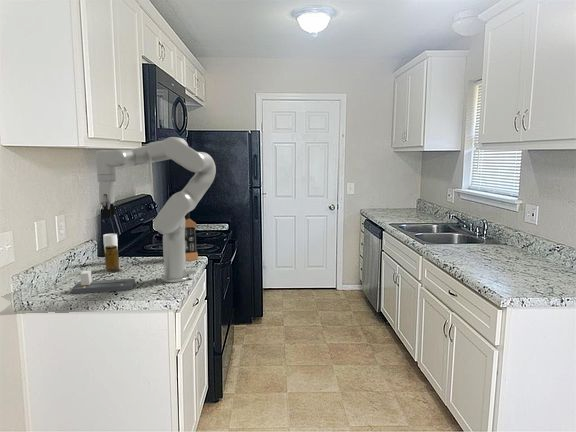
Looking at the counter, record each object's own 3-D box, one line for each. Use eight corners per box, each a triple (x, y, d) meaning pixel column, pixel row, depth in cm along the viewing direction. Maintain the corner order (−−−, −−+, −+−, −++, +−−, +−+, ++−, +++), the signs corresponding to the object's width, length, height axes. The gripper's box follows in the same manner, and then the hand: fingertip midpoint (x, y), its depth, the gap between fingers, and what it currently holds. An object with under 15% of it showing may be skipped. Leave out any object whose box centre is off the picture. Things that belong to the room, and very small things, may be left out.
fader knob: (91, 281, 177) (90, 270, 176) (89, 285, 173) (88, 273, 172) (84, 282, 176) (83, 270, 176) (81, 285, 172) (80, 273, 171)
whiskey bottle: (198, 259, 223) (196, 200, 219) (179, 261, 219) (177, 201, 215) (193, 255, 233) (191, 198, 228) (175, 257, 228) (173, 199, 224)
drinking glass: (118, 264, 215) (116, 235, 213) (104, 265, 213) (102, 236, 211) (119, 260, 221) (117, 233, 219) (105, 261, 220) (103, 233, 217)
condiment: (107, 268, 207) (106, 244, 205) (125, 268, 208) (124, 244, 206) (102, 272, 200) (101, 248, 198) (121, 272, 200) (119, 247, 199)
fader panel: (135, 282, 183) (134, 278, 183) (131, 289, 174) (131, 284, 173) (78, 286, 179) (78, 281, 179) (71, 293, 169) (71, 288, 169)
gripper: (102, 177, 192) (104, 214, 195) (92, 179, 176) (95, 219, 178) (119, 177, 194) (121, 213, 196) (111, 179, 177) (114, 219, 180)
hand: (109, 216), depth 187 cm, fingers open, 9 cm apart
